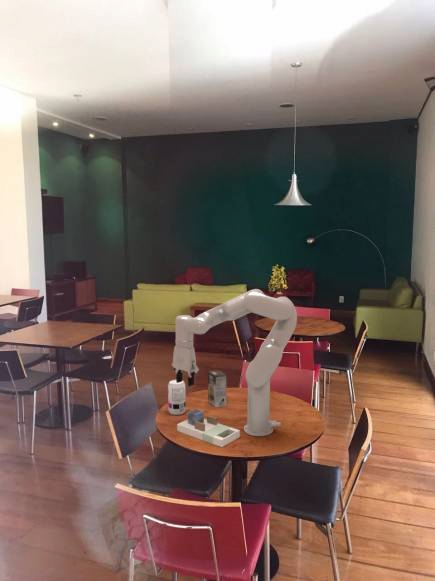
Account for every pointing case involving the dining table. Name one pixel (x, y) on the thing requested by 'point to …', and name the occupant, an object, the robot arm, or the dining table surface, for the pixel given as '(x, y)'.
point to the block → (195, 416)
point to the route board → (210, 431)
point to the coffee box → (217, 388)
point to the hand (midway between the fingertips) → (185, 383)
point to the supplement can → (176, 397)
